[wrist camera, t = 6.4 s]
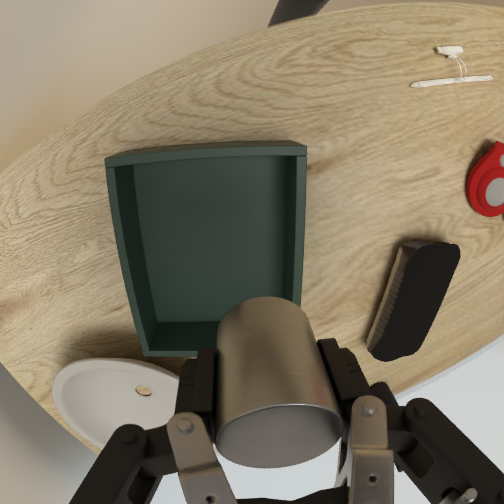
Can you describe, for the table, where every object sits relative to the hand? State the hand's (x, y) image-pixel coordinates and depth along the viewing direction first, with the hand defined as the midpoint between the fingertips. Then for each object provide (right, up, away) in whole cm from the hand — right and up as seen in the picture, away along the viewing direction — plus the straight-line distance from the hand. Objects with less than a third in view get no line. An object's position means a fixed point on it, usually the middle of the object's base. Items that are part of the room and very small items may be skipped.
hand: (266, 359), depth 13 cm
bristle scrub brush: (+19, 0, +23) cm, 30 cm away
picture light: (+22, +26, +12) cm, 35 cm away
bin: (-5, +6, +18) cm, 20 cm away
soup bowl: (-16, -15, +27) cm, 35 cm away
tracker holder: (+30, +13, +18) cm, 37 cm away
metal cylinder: (0, +1, +1) cm, 2 cm away
